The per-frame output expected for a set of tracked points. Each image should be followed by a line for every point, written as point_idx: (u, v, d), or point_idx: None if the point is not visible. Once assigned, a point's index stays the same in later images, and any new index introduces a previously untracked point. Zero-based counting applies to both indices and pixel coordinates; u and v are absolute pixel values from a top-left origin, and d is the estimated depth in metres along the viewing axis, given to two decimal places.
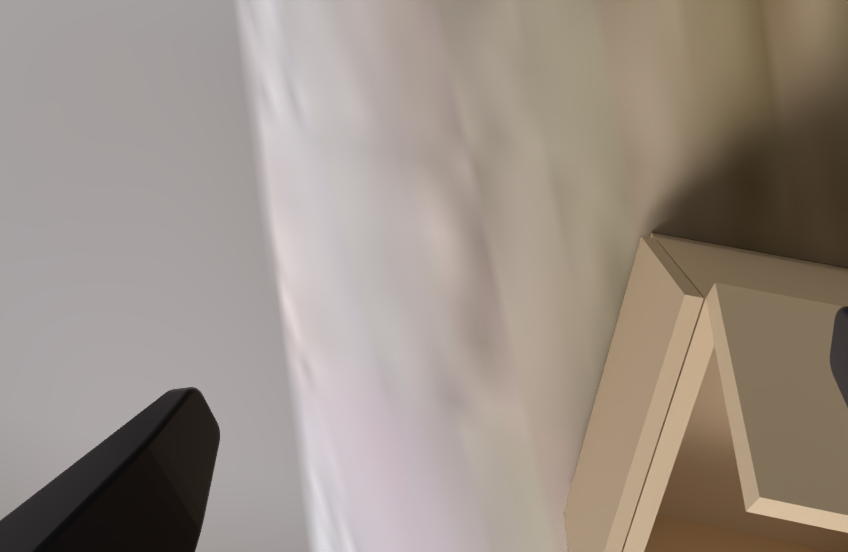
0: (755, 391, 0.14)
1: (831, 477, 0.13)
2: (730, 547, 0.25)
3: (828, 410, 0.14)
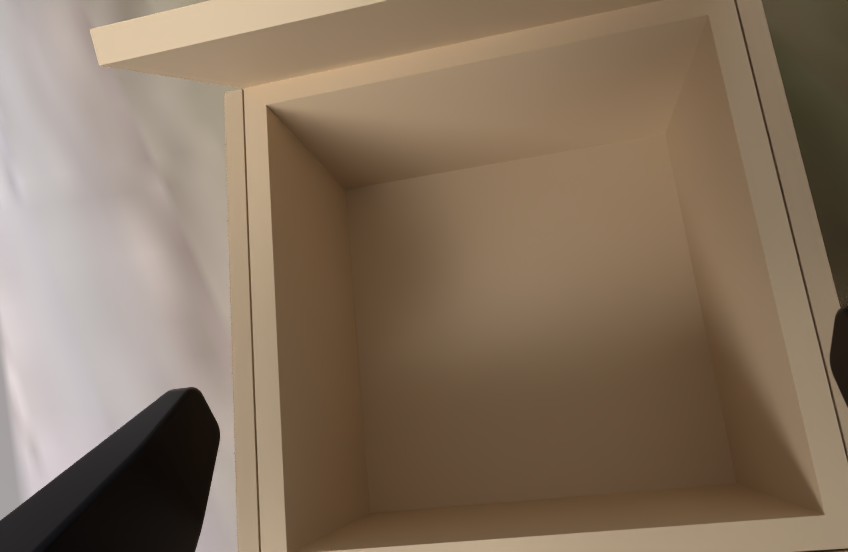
0: None
1: None
2: (537, 504, 0.18)
3: None
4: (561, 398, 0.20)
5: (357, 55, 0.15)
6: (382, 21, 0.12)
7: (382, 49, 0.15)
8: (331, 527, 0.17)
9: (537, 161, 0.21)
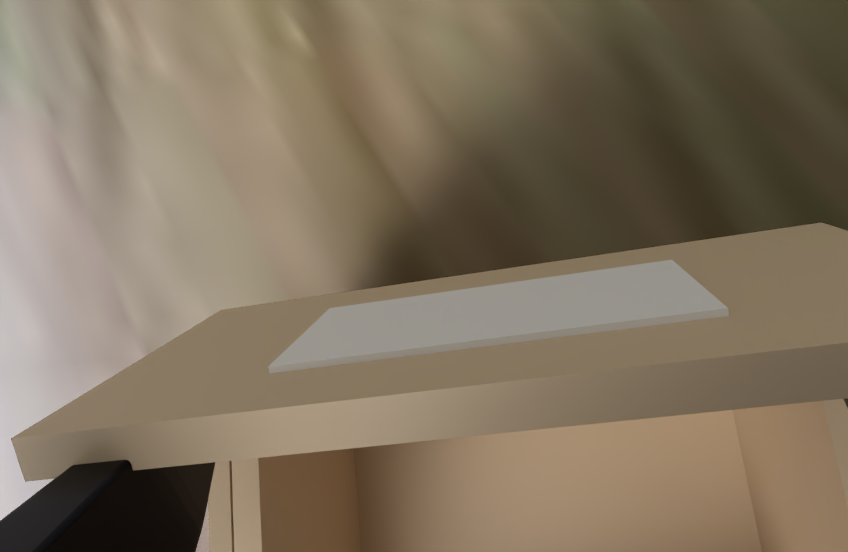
0: (152, 362, 0.11)
1: (154, 400, 0.09)
2: None
3: (234, 353, 0.10)
4: None
5: None
6: None
7: None
8: None
9: None
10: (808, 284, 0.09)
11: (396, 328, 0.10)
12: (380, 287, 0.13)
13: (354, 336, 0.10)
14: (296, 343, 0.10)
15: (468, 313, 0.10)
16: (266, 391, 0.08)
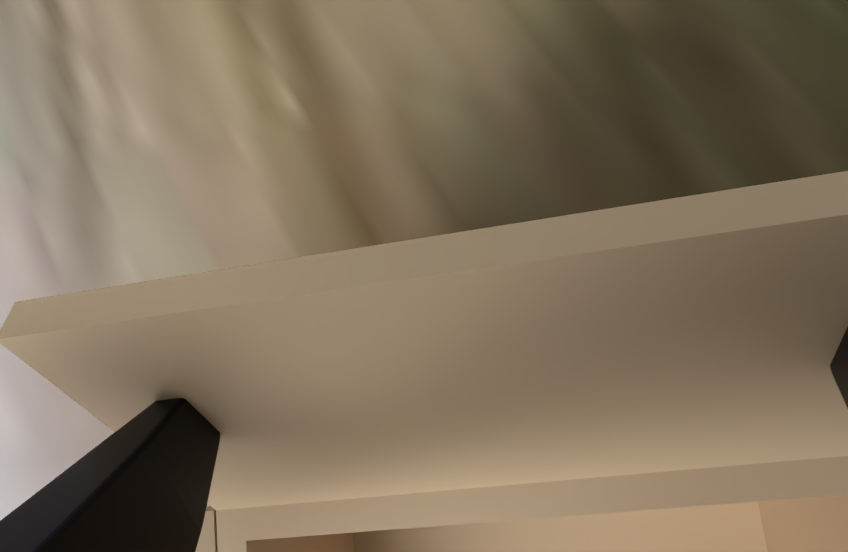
0: None
1: None
2: None
3: None
4: None
5: (364, 464, 0.11)
6: (386, 358, 0.09)
7: (397, 459, 0.11)
8: None
9: None
10: None
11: None
12: None
13: None
14: None
15: None
16: None
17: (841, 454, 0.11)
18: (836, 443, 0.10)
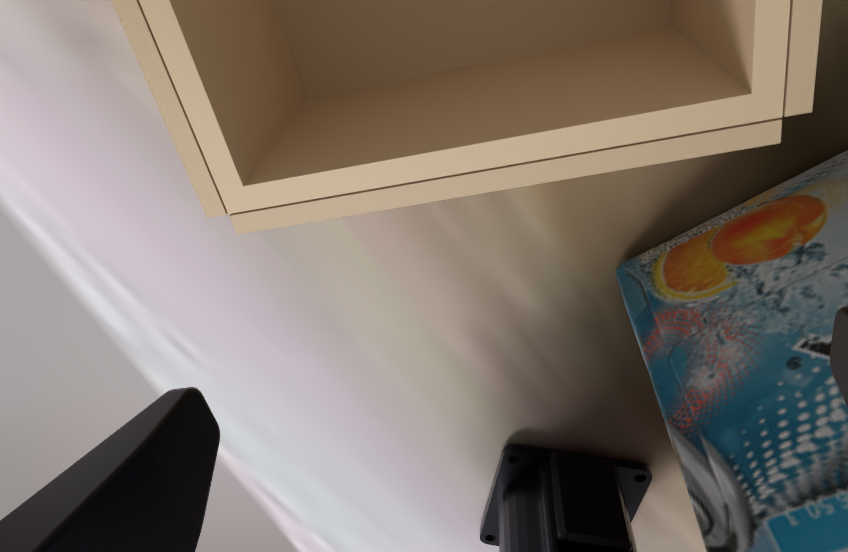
0: None
1: None
2: (474, 76, 0.18)
3: None
4: None
5: None
6: None
7: None
8: (275, 136, 0.17)
9: None
10: None
11: None
12: None
13: None
14: None
15: None
16: None
17: None
18: None
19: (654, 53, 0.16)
